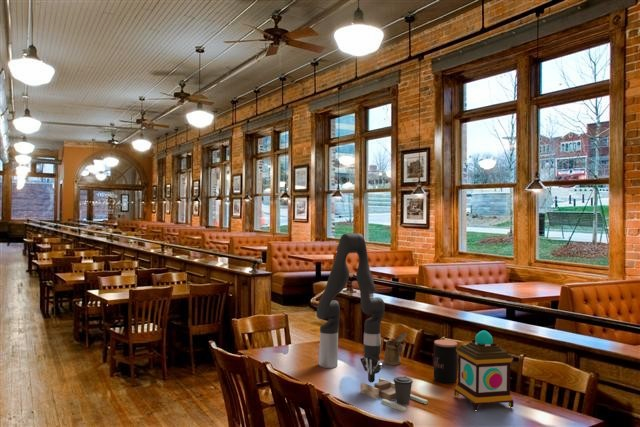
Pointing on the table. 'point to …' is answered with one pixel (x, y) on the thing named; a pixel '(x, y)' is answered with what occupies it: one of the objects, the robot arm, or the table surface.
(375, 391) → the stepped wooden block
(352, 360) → the table surface
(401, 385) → the coffee cup
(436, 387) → the table surface
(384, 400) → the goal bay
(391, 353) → the brown sack with scoop
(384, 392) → the pusher
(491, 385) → the decorative lantern
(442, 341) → the coffee jar
